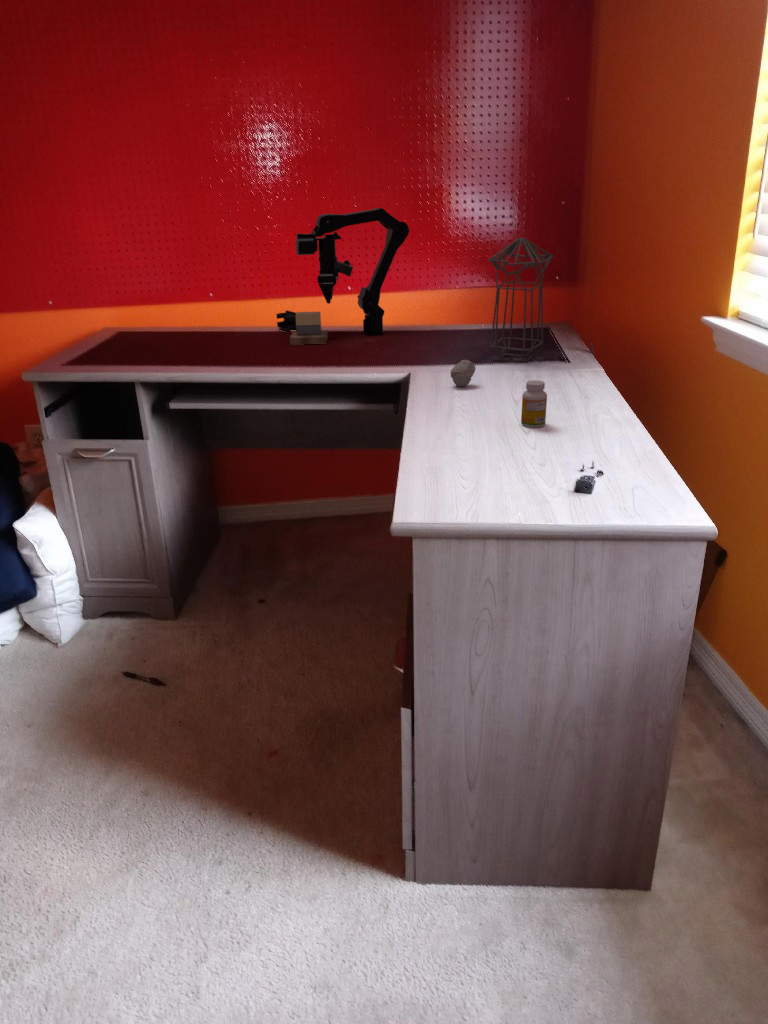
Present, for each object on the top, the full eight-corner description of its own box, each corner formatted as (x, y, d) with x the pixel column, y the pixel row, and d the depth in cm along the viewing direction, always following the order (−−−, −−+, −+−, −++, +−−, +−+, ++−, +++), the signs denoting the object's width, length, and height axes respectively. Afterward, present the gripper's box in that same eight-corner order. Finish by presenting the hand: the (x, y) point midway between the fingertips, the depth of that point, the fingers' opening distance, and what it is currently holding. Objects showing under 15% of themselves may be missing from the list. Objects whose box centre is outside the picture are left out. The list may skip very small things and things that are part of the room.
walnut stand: (328, 337, 274) (327, 330, 273) (325, 344, 263) (325, 337, 262) (293, 338, 274) (293, 331, 273) (290, 345, 263) (289, 337, 262)
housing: (298, 332, 270) (296, 312, 267) (321, 332, 270) (320, 311, 267) (296, 335, 265) (295, 314, 262) (320, 335, 265) (319, 314, 262)
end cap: (307, 331, 285) (306, 312, 282) (289, 334, 281) (288, 315, 278) (294, 328, 292) (292, 309, 290) (277, 330, 289) (275, 311, 286)
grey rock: (479, 386, 209) (480, 360, 206) (458, 390, 206) (458, 364, 203) (466, 382, 213) (467, 356, 211) (445, 385, 210) (445, 359, 208)
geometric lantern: (548, 356, 241) (556, 235, 226) (531, 368, 228) (539, 241, 213) (499, 351, 247) (504, 233, 232) (481, 362, 235) (485, 239, 220)
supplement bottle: (524, 420, 181) (526, 378, 177) (547, 422, 179) (550, 380, 175) (518, 427, 176) (520, 384, 172) (542, 429, 174) (545, 386, 170)
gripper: (350, 256, 256) (352, 305, 262) (352, 250, 273) (353, 296, 279) (316, 256, 256) (318, 305, 262) (320, 251, 273) (322, 297, 279)
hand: (329, 301), depth 271 cm, fingers open, 9 cm apart
